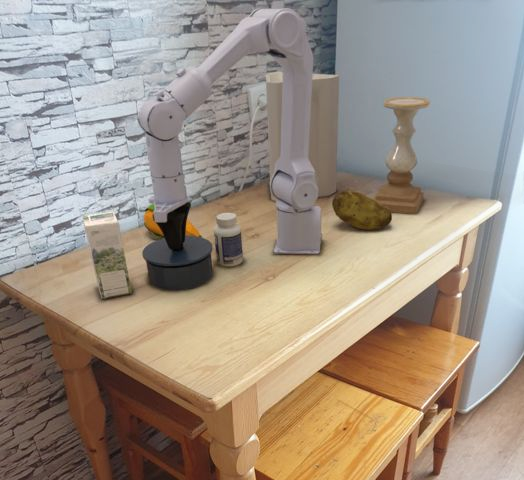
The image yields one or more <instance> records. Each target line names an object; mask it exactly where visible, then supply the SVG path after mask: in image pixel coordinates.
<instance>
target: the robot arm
mask: <svg viewBox="0 0 524 480" xmlns="http://www.w3.org/2000/svg"><path fill="white" fill-rule="evenodd" d="M255 53H266V54H268V55H270V56H271V58H272V59H273V60H274V61H275V62H276V63H277V64H278V65H279V66H280V67H281V69H282V72H283V84H282V120H281V155H280V158H279V159H278V160H277V162H276V163H275V165H274V173H273V176H272V178H271V181H270V180H269V191H270V194H271V193H272V195H273V196H274V197H276V201H275V205H276V207H275V208H276V209H275V210H276V211H275V212H276V236H277V237H276V238H277V239H276V243H275V246H274V249H273V254H275V255H277V254H282V255H319V254H320V251H321V245H322V242H323V232H322V206H321V205H320V206H319V205H315V204H316V202H317V200H318V198H319V197H318V186H317V184H316V181H315V170H314V168H313V167H312V165H311V163H310V161H309V159H308V151H309V133H310V114H311V95H312V77H313V74H314V54H313V51H312V48H311V45H310V42H309V39H308V36H307V23H306V21H305V20H304V19H303V18H302V17H301V16H300V15H299V14H298V13H297V12H296V11H295V10H294V9H292V8H289V7H284V8H267V7H257V8H256V9H254V10H252V12H251V13H250V14H249V15H248V16H246V17H244V18H242V19H241V20H240V21H239V23H238V24H237V26H236V27H235V28H234V30H233V31H231V32H230V34H228V36H227V37H226V38H225V39H223V41H222V42H221V43H220V44H219V45H218V46H217V47H216V48H215V49H214V50H213V51H212V52H211V53H210V54H209V56H207V58H206V59H205V60H204V61H203V62H202V63H201V64H200V65H199V66H198V67H197V66H190V65H189V66H187V67H186V68H181V67H180V68H179V69H178V70H177V71H176V72H175V75H176V77H175V78H174V79H173V80H172V81H171V82H170V83H169V84H168V85H167V86H166V87H165V88H164V89H163V90H162V89H158V90H157V91H156V92H155V96H156V98H153V99H148V100H147V101H145V102H144V103H143V104H142V105H141V107H140V109H139V110H140V111H139V112H138V117H137V123H138V125H139V127H140V128H141V130H142V131H143V132H144V138H145V143H146V153H147V159H148V166H149V173H150V179H151V185H152V191H153V195H152V196H150V197H148V199H147V200H148V203H149V204H154V206H155V210H154V212H153V213H154V214H153V220H154V221H155V222H156V224H157V225H158V226H159V228H160V229H161V231H162V233H163V235H164V237H163V238H165V240H166V242H167V245H168V247H169V249H180V248H181V231H182V238H183V243H184V241H185V234H186V223H187V220H188V216H189V213H190V210H191V207H192V203H191V202H188V201H189V200H188V194H187V192H188V191H187V186H186V184H185V177H184V175H185V174H184V167H183V161H182V153H181V152H182V151H181V145H180V140H179V138H180V137H179V135H180V133H181V131H182V129H183V123H184V121H186V120H187V119H188V118H189V117H190V116H191V115H192V114H193V113H194V112H195V111H197V109H199V108H200V106H202V105H203V104H204V103H205V102H206V101H207V100H208V99H209V98H210V97H211V95H212V89H213V84H214V83H215V82H216V81H217V80H218V79H220V78H222V76H224V75H225V74H226V73H227V72H228V71H229V70H230V69H232V68H233V67H234V66H235V65H237V63H239V62H240V61H241V60H242V59H243V58H245V57H246V56H247V55H248V54H249V55H250V54H255Z"/></svg>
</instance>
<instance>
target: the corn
mask: <svg viewBox="0 0 524 480" xmlns="http://www.w3.org/2000/svg"><path fill="white" fill-rule="evenodd" d="M154 210H155V206H154V203H151V204H150V205H149V206H147V207H146V208H145V209H144V212H145V213H144V214H143V221H144V227H145V228H146V229H147V231H149V232H150V233H151V234H153V235H154V236H155V237H157V238H159V239H163V238H164V235H163V233H162V231H161V229H160V228H159V226H158V225H157V224H156V222H155V221H154V220H153V214H154V213H153V212H154ZM185 236H197V237H202V235H201V234H200V231H199V230H198V228H197V227H196V226H195V225H194V224H193V223H192V222H191V221H189V219H187V223H186V234H185Z"/></svg>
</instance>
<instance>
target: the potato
mask: <svg viewBox="0 0 524 480" xmlns="http://www.w3.org/2000/svg"><path fill="white" fill-rule="evenodd" d="M331 206H332V209H333V212H334V213H335V215H336V216H337V217H338V219H339V220H341V221H342V222H344V223H346V224H349V225H351V226H352V227H354V228H356V229H358V230H362V231H363V230H364V231H373V230H378V229H382V228H386V227H387V226H389V225H390V224H391V223H392V221H393V212H391V210H390V209H389V208H388V207H386V206H385V205H383V204H381V203H379V202H377V201H374V200H373V199H372V198H371V197H369V196H367V195H365V194H363V193H362V192H359V191H358V190H351V189H347V190H344V191H341V192H339V193H337V195H334V197H333V199H332V202H331Z"/></svg>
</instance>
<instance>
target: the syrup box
mask: <svg viewBox="0 0 524 480" xmlns="http://www.w3.org/2000/svg"><path fill="white" fill-rule="evenodd" d="M82 222H83V227H84V232H85V234H86V235H85V237H86V240H87V244H88V248H89V252H90V258H91V262H92V266H93V270H94V275H95V280H96V284H97V288H98V291H99V294H100V297H101V300H105V299H111V298H115V297H120V296H121V297H122V296H126V295H131V294H132V293H133V291H132V286H131V281H130V276H129V275H130V274H129V270H128V265H127V260H126V254H125V250H124V249H125V247H124V243H123V238H122V233H121V227H120V222H119V220H118V218H117V216H116V214H115V211H113V210H112V211H108V212H101V213H95V214H89V215H83V216H82Z"/></svg>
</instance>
